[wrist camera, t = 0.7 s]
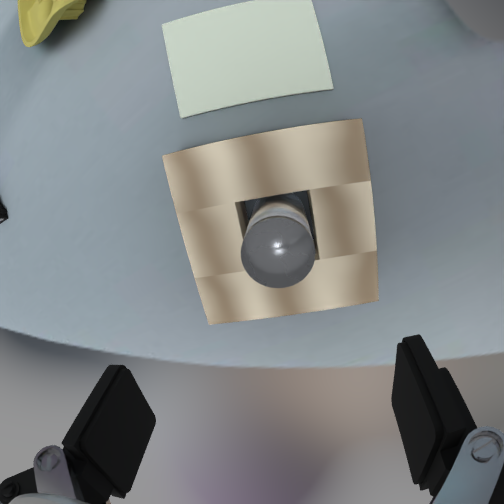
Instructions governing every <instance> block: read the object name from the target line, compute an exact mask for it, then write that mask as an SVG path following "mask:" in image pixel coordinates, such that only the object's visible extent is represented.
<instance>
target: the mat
mask: <svg viewBox="0 0 504 504" xmlns="http://www.w3.org/2000/svg"><path fill="white" fill-rule="evenodd" d="M162 29H163V34H164V39H165V44H166V50H167V55H168V60H169V65H170V70H171V75H172V80H173V84H174V89H175V94H176V99H177V103H178V108H179V113H180V117H181V118H186V117H190V116H194V115H198V114H202V113H206V112H210V111H214V110H218V109H222V108H227V107H231V106H236V105H241V104H245V103H250V102H255V101H261V100H266V99H271V98H277V97H283V96H289V95H296V94H302V93H309V92H317V91H325V90H332V89H334V88H333V83H332V79H331V74H330V70H329V65H328V61H327V57H326V53H325V49H324V44H323V41H322V37H321V33H320V29H319V25H318V21H317V18H316V14H315V11H314V7H313V4H312V0H254V1H249V2H244V3H239V4H234V5H230V6H225V7H221V8H217V9H213V10H209V11H205V12H201V13H198V14H194V15H191V16H187V17H184V18H181V19H178V20H175V21H171V22H168V23H165V24H163V25H162Z"/></svg>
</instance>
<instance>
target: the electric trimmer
mask: <svg viewBox="0 0 504 504" xmlns="http://www.w3.org/2000/svg"><path fill="white" fill-rule="evenodd" d="M7 213H8V212H7V210H5V209H3V208H2V206H1V204H0V224H1V223H2V222H4V221H5V220H7V219H8V217H7Z"/></svg>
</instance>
